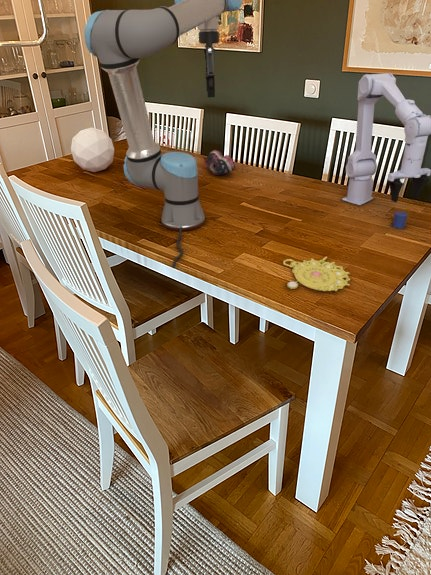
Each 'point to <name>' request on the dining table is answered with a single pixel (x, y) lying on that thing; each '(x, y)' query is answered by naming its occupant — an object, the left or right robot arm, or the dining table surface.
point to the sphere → (92, 149)
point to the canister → (399, 220)
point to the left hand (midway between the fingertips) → (210, 94)
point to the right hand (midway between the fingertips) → (404, 199)
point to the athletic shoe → (219, 163)
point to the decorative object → (318, 275)
